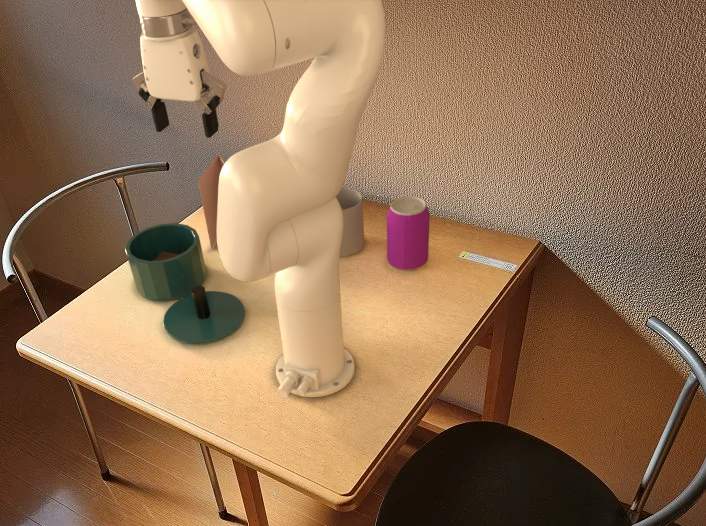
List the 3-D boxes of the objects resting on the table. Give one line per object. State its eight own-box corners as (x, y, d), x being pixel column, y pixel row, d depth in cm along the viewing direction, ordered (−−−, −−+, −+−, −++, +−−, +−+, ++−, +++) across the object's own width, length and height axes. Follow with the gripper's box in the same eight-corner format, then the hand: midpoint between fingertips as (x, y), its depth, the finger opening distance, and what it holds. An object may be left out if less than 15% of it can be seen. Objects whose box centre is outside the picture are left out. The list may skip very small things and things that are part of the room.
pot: (183, 307, 135) (173, 268, 129) (122, 294, 140) (110, 256, 134) (219, 267, 143) (211, 229, 138) (160, 256, 148) (151, 218, 143)
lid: (220, 354, 124) (213, 322, 119) (148, 336, 129) (139, 306, 125) (259, 304, 133) (254, 273, 128) (191, 290, 138) (184, 260, 134)
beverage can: (383, 271, 137) (382, 214, 129) (391, 248, 142) (391, 192, 134) (424, 275, 134) (426, 217, 126) (431, 252, 140) (433, 195, 132)
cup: (353, 229, 149) (351, 184, 142) (371, 248, 143) (369, 202, 136) (314, 240, 147) (310, 195, 140) (331, 260, 141) (328, 214, 134)
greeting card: (225, 220, 156) (214, 153, 146) (258, 221, 154) (249, 154, 144) (207, 249, 149) (193, 181, 138) (242, 251, 147) (230, 182, 136)
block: (174, 286, 139) (169, 267, 136) (154, 282, 141) (149, 263, 138) (186, 274, 142) (181, 254, 139) (167, 270, 143) (162, 251, 140)
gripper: (227, 16, 111) (243, 126, 122) (132, 13, 117) (156, 117, 129) (202, 33, 106) (221, 146, 117) (105, 28, 112) (132, 136, 124)
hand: (187, 131), depth 123 cm, fingers open, 9 cm apart
